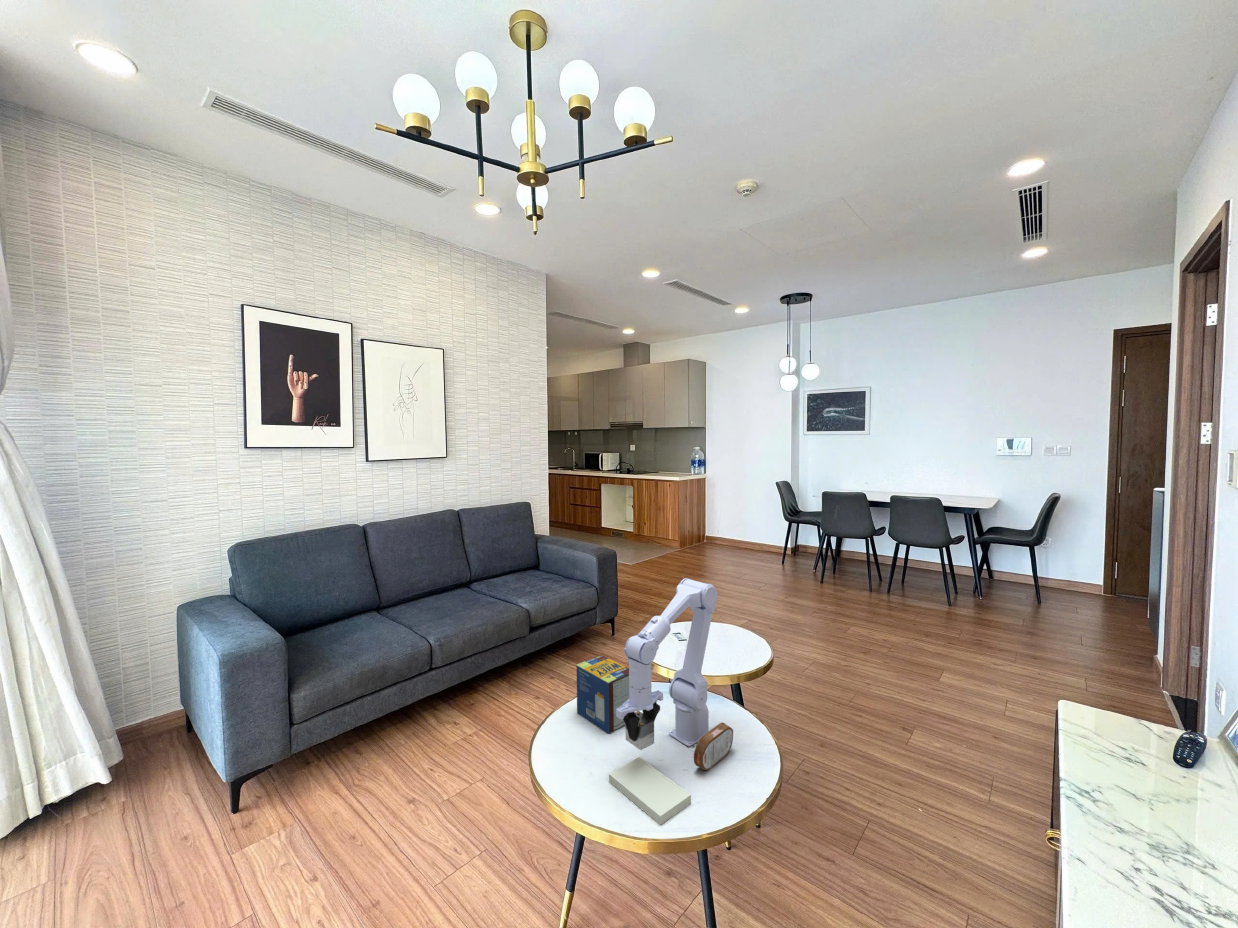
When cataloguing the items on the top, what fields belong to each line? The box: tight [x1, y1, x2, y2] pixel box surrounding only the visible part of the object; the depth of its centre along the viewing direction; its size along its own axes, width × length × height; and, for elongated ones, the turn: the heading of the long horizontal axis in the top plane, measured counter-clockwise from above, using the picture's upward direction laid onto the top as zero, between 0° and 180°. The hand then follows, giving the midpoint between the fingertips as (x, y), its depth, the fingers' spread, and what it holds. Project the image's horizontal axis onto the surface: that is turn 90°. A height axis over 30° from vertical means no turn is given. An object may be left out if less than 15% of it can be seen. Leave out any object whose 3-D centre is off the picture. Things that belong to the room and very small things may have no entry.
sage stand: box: [608, 756, 692, 825], centre depth 119 cm, size 10×18×2 cm, turn 40°
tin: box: [693, 722, 734, 771], centre depth 130 cm, size 15×3×8 cm, turn 135°
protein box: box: [576, 654, 629, 735], centre depth 151 cm, size 10×15×16 cm
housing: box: [624, 710, 655, 751], centre depth 128 cm, size 5×6×6 cm
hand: (640, 735), depth 128 cm, fingers closed on housing, 5 cm apart
